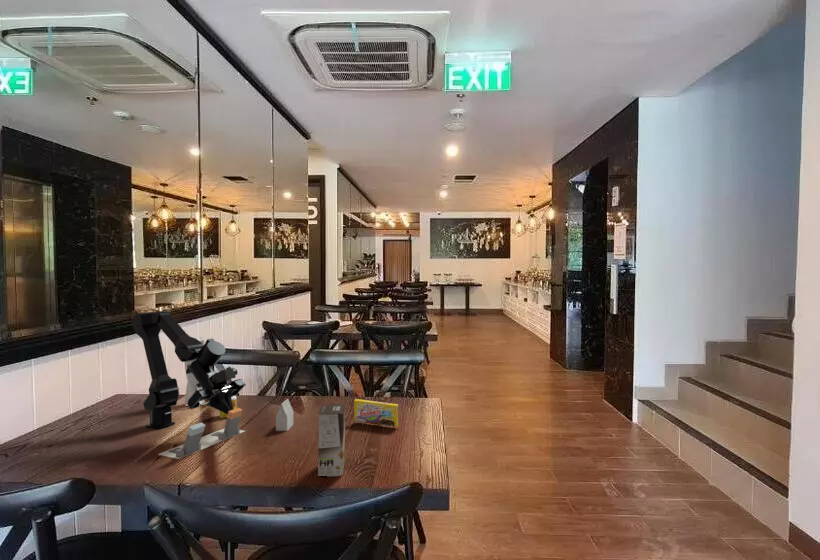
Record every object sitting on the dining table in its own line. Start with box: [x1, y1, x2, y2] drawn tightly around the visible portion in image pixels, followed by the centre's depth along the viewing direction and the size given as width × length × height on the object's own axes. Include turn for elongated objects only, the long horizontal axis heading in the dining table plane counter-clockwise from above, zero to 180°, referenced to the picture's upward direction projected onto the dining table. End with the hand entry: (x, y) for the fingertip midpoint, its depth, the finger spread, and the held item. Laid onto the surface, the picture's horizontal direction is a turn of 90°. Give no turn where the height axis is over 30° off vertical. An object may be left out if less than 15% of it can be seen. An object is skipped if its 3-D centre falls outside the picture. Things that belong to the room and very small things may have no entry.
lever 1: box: [182, 421, 207, 456], centre depth 128 cm, size 2×4×8 cm, turn 156°
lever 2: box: [223, 407, 243, 439], centre depth 142 cm, size 2×4×8 cm, turn 156°
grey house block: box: [275, 398, 295, 432], centre depth 152 cm, size 4×7×10 cm, turn 178°
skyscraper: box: [184, 333, 209, 406], centre depth 183 cm, size 8×8×28 cm
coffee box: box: [317, 403, 346, 477], centre depth 122 cm, size 9×6×16 cm
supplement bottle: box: [219, 395, 238, 419], centre depth 164 cm, size 6×6×10 cm
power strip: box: [158, 427, 246, 460], centre depth 138 cm, size 8×25×3 cm, turn 157°
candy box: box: [353, 398, 399, 427], centre depth 159 cm, size 16×2×8 cm, turn 68°
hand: (232, 414), depth 142 cm, fingers closed, pressing on lever 2
